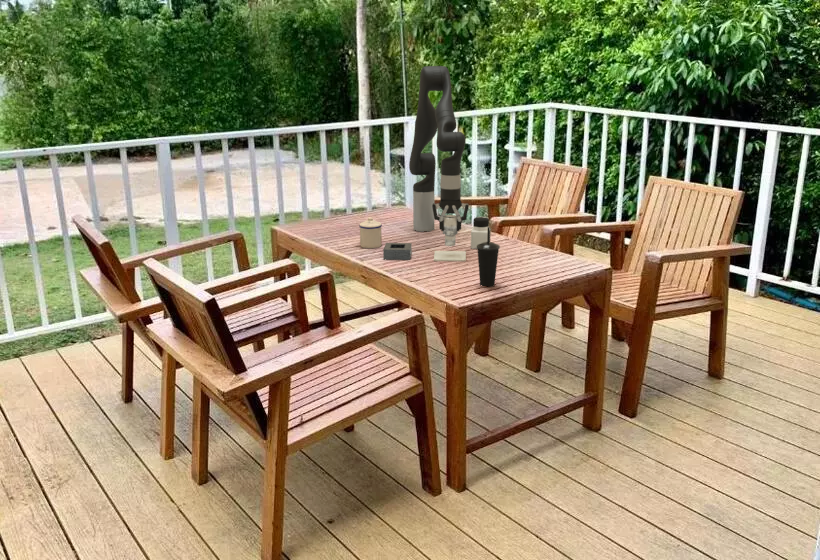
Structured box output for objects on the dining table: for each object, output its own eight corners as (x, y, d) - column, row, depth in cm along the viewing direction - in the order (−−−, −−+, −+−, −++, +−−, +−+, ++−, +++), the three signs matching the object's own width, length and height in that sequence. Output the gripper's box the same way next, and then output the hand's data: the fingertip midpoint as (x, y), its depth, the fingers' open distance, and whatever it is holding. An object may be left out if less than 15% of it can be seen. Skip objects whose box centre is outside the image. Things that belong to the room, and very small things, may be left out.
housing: (386, 252, 288) (385, 242, 287) (411, 252, 288) (411, 242, 287) (383, 259, 279) (383, 249, 278) (409, 260, 278) (409, 249, 277)
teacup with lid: (386, 246, 297) (386, 218, 294) (367, 250, 292) (367, 221, 289) (370, 240, 307) (369, 212, 303) (351, 243, 301) (350, 216, 298)
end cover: (442, 242, 283) (443, 214, 280) (457, 243, 283) (457, 214, 280) (442, 246, 278) (442, 218, 275) (457, 246, 278) (457, 218, 274)
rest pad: (434, 252, 288) (434, 250, 288) (465, 252, 287) (465, 251, 287) (433, 261, 277) (433, 259, 277) (465, 261, 276) (465, 259, 276)
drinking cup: (475, 288, 246) (476, 229, 240) (476, 281, 253) (477, 224, 247) (498, 289, 245) (499, 230, 239) (499, 282, 252) (500, 224, 246)
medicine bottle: (488, 249, 292) (489, 219, 288) (470, 248, 293) (471, 219, 289) (490, 245, 298) (491, 215, 295) (472, 244, 300) (473, 215, 296)
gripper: (469, 184, 277) (469, 228, 282) (431, 184, 278) (431, 228, 283) (470, 188, 270) (469, 233, 275) (430, 188, 271) (430, 233, 276)
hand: (450, 230), depth 279 cm, fingers closed on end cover, 5 cm apart
